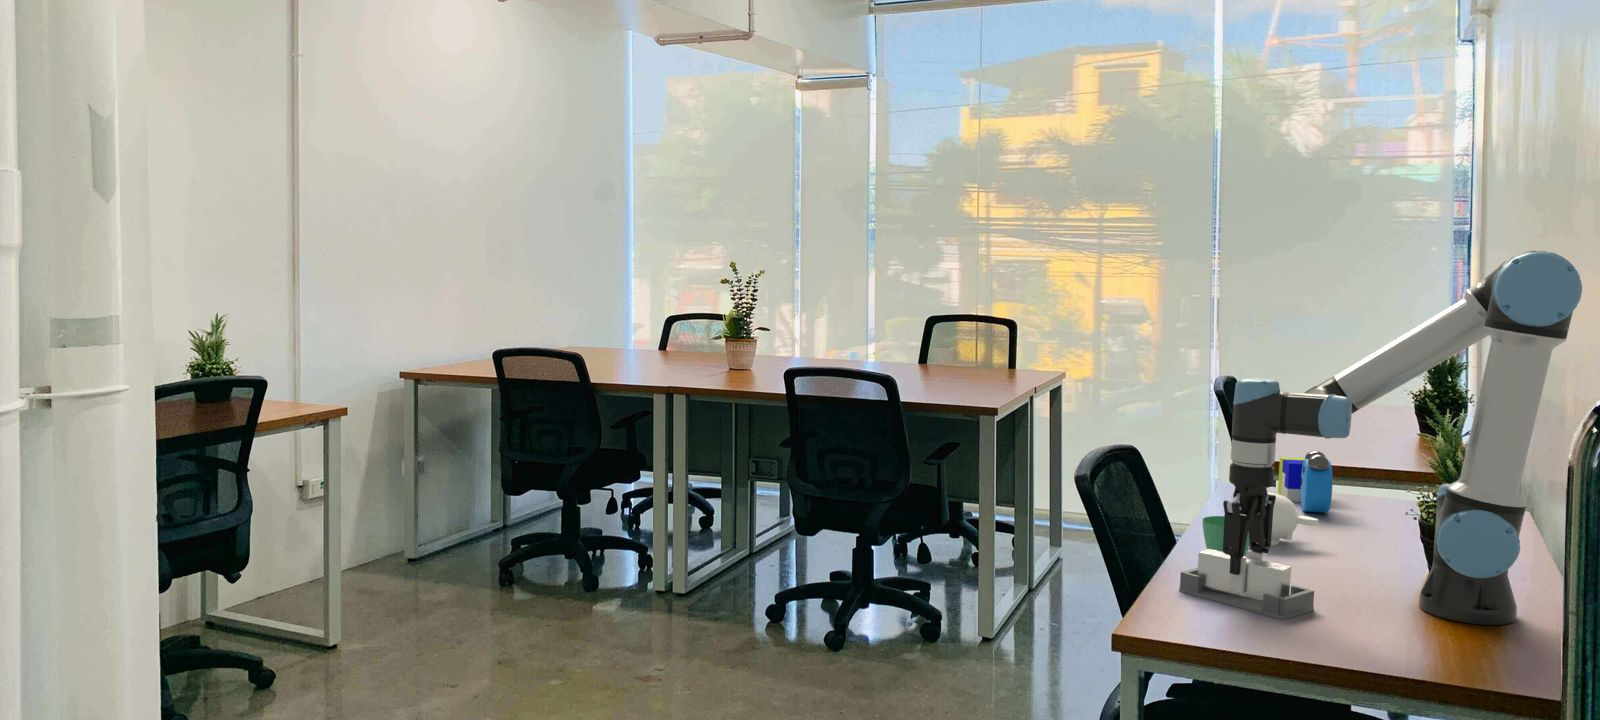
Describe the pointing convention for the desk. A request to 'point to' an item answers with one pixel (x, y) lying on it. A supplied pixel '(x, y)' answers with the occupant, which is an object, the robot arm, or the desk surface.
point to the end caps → (1251, 598)
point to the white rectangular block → (1257, 576)
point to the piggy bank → (1286, 519)
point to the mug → (1217, 533)
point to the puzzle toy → (1290, 478)
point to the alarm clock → (1316, 483)
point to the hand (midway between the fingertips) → (1244, 588)
